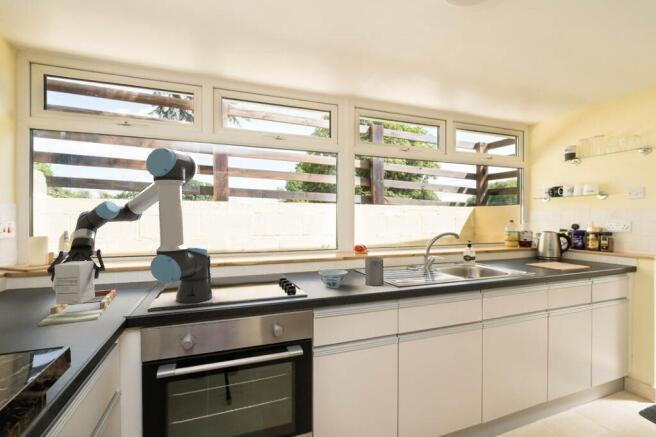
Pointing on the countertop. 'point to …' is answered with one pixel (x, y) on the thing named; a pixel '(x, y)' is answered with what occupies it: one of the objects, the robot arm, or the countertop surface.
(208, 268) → the storage jar
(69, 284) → the supplement box
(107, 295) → the track
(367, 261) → the pillar candle
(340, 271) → the chinaware
